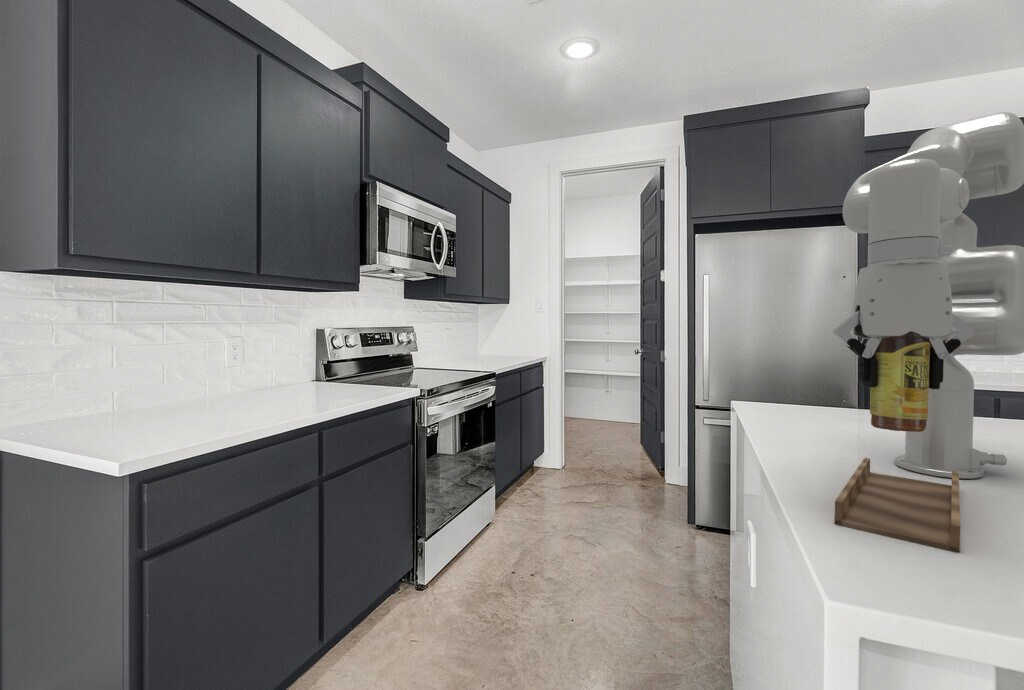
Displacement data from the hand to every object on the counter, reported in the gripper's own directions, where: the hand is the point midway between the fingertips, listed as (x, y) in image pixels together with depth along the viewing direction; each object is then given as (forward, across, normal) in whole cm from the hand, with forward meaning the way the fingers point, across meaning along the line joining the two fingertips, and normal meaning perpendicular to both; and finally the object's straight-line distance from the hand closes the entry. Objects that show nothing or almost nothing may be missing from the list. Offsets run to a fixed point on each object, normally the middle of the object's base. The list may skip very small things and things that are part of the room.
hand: (899, 386), depth 65 cm
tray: (+19, -4, -8) cm, 21 cm away
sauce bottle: (+6, 0, 0) cm, 6 cm away
